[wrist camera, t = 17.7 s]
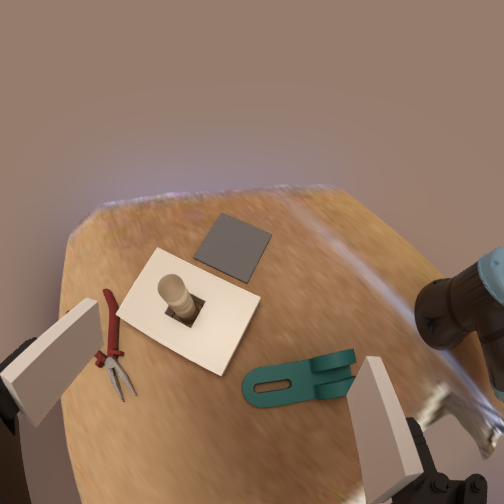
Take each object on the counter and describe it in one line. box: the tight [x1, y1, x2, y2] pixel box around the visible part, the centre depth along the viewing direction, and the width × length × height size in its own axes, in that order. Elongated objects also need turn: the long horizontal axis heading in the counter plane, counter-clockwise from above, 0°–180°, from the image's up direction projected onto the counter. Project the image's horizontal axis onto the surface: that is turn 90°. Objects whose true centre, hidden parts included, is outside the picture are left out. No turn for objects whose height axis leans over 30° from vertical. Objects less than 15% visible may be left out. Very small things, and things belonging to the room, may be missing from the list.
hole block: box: [116, 247, 261, 376], centre depth 44 cm, size 20×14×4 cm
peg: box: [157, 274, 199, 324], centre depth 40 cm, size 4×4×14 cm
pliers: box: [66, 289, 137, 402], centre depth 41 cm, size 12×20×3 cm, turn 33°
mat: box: [193, 213, 272, 283], centre depth 52 cm, size 11×11×1 cm
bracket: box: [242, 349, 356, 408], centre depth 39 cm, size 18×7×8 cm, turn 98°
